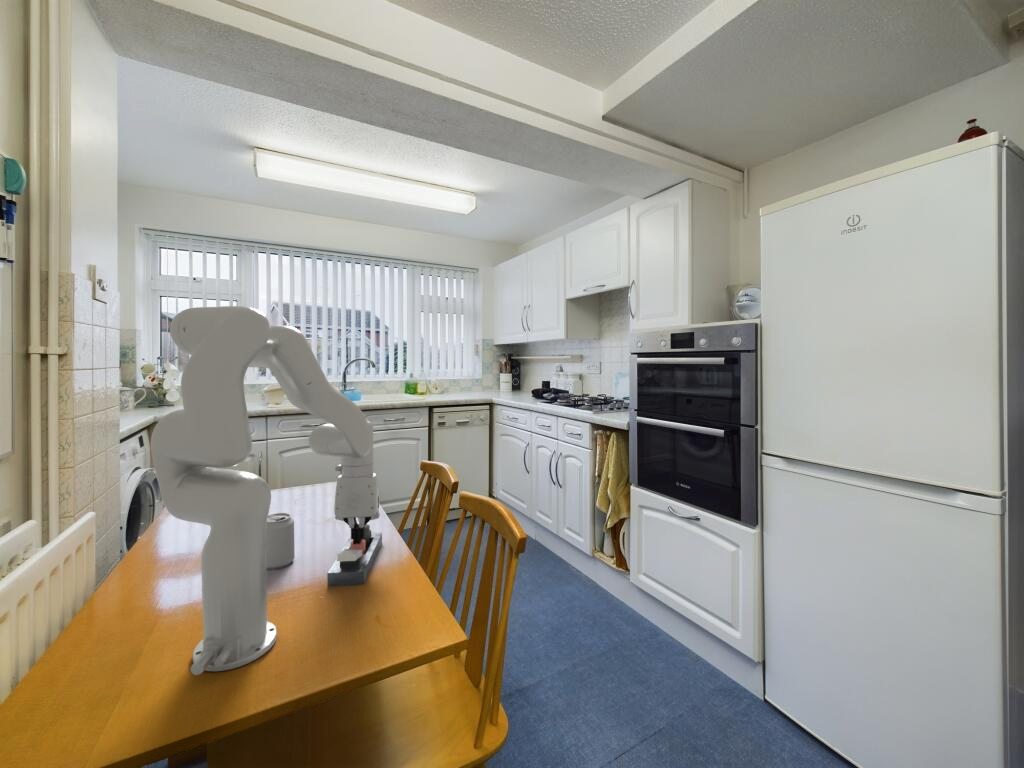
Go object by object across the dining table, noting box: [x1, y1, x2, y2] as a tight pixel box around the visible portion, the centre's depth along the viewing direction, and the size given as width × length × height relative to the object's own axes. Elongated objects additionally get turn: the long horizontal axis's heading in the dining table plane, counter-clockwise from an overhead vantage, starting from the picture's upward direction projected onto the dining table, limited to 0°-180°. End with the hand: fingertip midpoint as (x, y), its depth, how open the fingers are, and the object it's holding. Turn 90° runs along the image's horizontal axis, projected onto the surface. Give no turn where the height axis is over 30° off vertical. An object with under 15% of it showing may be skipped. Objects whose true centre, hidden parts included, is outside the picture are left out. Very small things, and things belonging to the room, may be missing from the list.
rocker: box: [336, 548, 362, 561], centre depth 102 cm, size 7×4×2 cm, turn 7°
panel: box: [326, 529, 383, 587], centre depth 109 cm, size 22×8×4 cm, turn 6°
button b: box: [364, 523, 371, 546], centre depth 115 cm, size 4×4×4 cm
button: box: [350, 539, 367, 554], centre depth 110 cm, size 4×4×4 cm
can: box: [266, 512, 295, 570], centre depth 108 cm, size 8×8×12 cm
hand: (357, 541), depth 109 cm, fingers closed
